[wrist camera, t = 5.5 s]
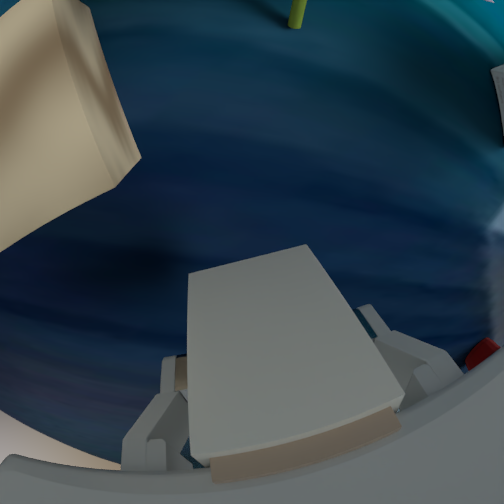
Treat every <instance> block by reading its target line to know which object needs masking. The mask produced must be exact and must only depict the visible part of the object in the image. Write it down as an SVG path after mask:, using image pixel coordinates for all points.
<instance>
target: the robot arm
mask: <svg viewBox="0 0 504 504" xmlns="http://www.w3.org/2000/svg"><path fill="white" fill-rule="evenodd" d="M352 311H353V312H354V314H355V315H356V317H357V318H358V320H359V321H360V323H361V324H362V326H363V327H364V329H365V330H366V332H367V333H368V335H369V336H370V338H371V340H372V341H373V343H374V344H375V346H376V347H377V349H378V351H379V352H380V354H381V355H382V357H383V358H384V360H385V362H386V363H387V365H388V366H389V368H390V370H391V371H392V373H393V375H394V376H395V378H396V379H397V381H398V383H399V384H400V386H401V388H402V389H403V391H404V393H405V395H404V398H403V400H402V402H401V404H400V406H399V409H400V411H399V412H397V413H395V415H396V416H397V418H398V420H399V422H400V424H401V426H402V427H401V429H400V430H399V431H397V432H395V433H393V434H391V435H389V436H387V437H385V438H383V439H380V440H378V441H376V442H373V443H371V444H369V445H366V446H364V447H361V448H359V449H356V450H354V451H351V452H349V453H346V454H343V455H340V456H337V457H335V458H332V459H329V460H326V461H323V462H319V463H316V464H313V465H309V466H306V467H302V468H299V469H295V470H291V471H287V472H283V473H279V474H274V475H270V476H265V477H260V478H255V479H249V480H243V481H237V482H230V483H222V484H214V483H213V482H212V477H211V469H210V467H208V468H198V469H193V464H192V463H190V462H189V461H188V460H187V459H185V458H184V457H183V456H182V455H181V454H180V452H181V450H182V448H183V446H184V444H185V442H186V440H187V439H188V437H189V415H188V383H187V354H181V355H177V356H170V357H164V358H163V361H162V370H161V386H160V394H156V395H155V397H154V398H153V400H152V401H151V402H150V404H149V405H148V406H147V408H146V409H145V410H144V412H143V413H142V414H141V416H140V417H139V418H138V420H137V421H136V422H135V424H134V425H133V426H132V428H131V429H130V431H129V432H128V433H127V435H126V436H125V437H124V439H123V445H122V458H121V471H120V470H103V469H92V468H84V467H76V466H69V465H63V464H56V463H51V462H46V461H41V460H37V459H33V458H28V457H24V456H21V455H17V454H11V455H9V456H7V457H6V458H5V459H4V460H3V462H2V463H1V464H0V504H504V345H503V346H502V347H501V348H500V349H498V350H497V351H496V352H495V353H493V354H492V355H491V356H489V357H488V358H487V359H485V360H484V361H483V362H481V363H480V364H478V365H477V366H476V367H474V368H473V369H471V370H470V371H468V372H467V373H465V374H463V372H462V371H461V370H460V368H459V367H458V366H457V365H456V363H455V362H454V361H453V359H452V358H451V357H450V355H449V354H448V353H447V352H446V351H445V350H442V349H440V348H437V347H435V346H432V345H430V344H427V343H425V342H422V341H420V340H417V339H415V338H412V337H410V336H407V335H405V334H402V333H400V332H397V331H395V330H394V331H392V332H391V331H390V329H389V328H388V327H387V325H386V324H385V323H384V321H383V320H382V319H381V317H380V316H379V315H378V313H377V312H376V311H375V309H374V308H373V307H372V306H371V305H370V304H367V305H364V306H361V307H358V308H357V309H356V308H355V309H353V310H352Z"/></svg>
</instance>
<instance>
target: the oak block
mask: <svg viewBox="0 0 504 504" xmlns="http://www.w3.org/2000/svg"><path fill="white" fill-rule="evenodd" d="M140 159H141V156H140V153H139V151H138V148H137V146H136V143H135V141H134V138H133V136H132V133H131V131H130V128H129V125H128V123H127V120H126V118H125V115H124V112H123V110H122V107H121V104H120V101H119V99H118V96H117V93H116V90H115V87H114V85H113V82H112V79H111V76H110V73H109V70H108V67H107V64H106V61H105V58H104V55H103V52H102V49H101V45H100V42H99V39H98V36H97V32H96V29H95V25H94V22H93V18H92V15H91V11H90V8H89V7H88V6H86V5H85V4H83V3H82V2H80V1H79V0H21V1H19V2H18V3H17V4H16V5H14V6H13V7H12V8H11V9H9V10H8V11H7V12H6V13H5V14H4V15H2V16H1V17H0V252H1V251H3V250H4V249H6V248H7V247H9V246H10V245H12V244H13V243H15V242H16V241H18V240H20V239H21V238H23V237H24V236H26V235H28V234H29V233H31V232H32V231H34V230H36V229H37V228H39V227H41V226H42V225H44V224H46V223H48V222H49V221H51V220H53V219H55V218H56V217H58V216H60V215H62V214H64V213H65V212H67V211H69V210H71V209H73V208H75V207H77V206H78V205H80V204H82V203H84V202H86V201H88V200H90V199H92V198H94V197H96V196H98V195H100V194H102V193H104V192H106V191H108V190H111V189H113V188H115V187H116V186H117V185H118V183H119V182H120V181H121V180H122V179H123V178H124V176H125V175H126V174H127V173H128V172H129V171H130V170H131V169H132V168H133V166H134V165H135V164H136V163H137V162H138V161H139V160H140Z"/></svg>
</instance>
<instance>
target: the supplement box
mask: <svg viewBox="0 0 504 504" xmlns="http://www.w3.org/2000/svg"><path fill="white" fill-rule="evenodd" d="M491 73H492V76H493V79H494V83H495V87H496V91H497V96H498V101H499V106H500V112H501V118H502V126H503V134H504V64H503V65H501V66H498V67H495V68H493V69H491Z"/></svg>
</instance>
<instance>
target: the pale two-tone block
mask: <svg viewBox="0 0 504 504" xmlns="http://www.w3.org/2000/svg"><path fill="white" fill-rule="evenodd" d="M187 383H188V415H189V435H190V451H191V456H192V457H194V458H195V459H196V460H197V461H198V462H199V463H201V464H202V465H203V466H204V467H206V468H208V467H210V469H211V477H212V482H213V483H214V484H222V483H230V482H237V481H243V480H249V479H255V478H260V477H265V476H270V475H274V474H279V473H283V472H287V471H291V470H295V469H299V468H302V467H306V466H309V465H313V464H316V463H319V462H323V461H326V460H329V459H332V458H335V457H337V456H340V455H343V454H346V453H349V452H351V451H354V450H356V449H359V448H361V447H364V446H366V445H369V444H371V443H373V442H376V441H378V440H380V439H383V438H385V437H387V436H389V435H391V434H393V433H395V432H397V431H399V430H400V429H401V427H402V426H401V424H400V422H399V420H398V418H397V416H396V415H395V413H396V412H397V410H398V408H399V406H400V404H401V402H402V400H403V398H404V395H405V393H404V391H403V389H402V388H401V386H400V384H399V383H398V381H397V379H396V378H395V376H394V375H393V373H392V371H391V370H390V368H389V366H388V365H387V363H386V362H385V360H384V358H383V357H382V355H381V354H380V352H379V351H378V349H377V347H376V346H375V344H374V343H373V341H372V340H371V338H370V336H369V335H368V333H367V332H366V330H365V329H364V327H363V326H362V324H361V323H360V321H359V320H358V318H357V317H356V315H355V314H354V312H353V311H352V309H351V308H350V306H349V305H348V303H347V302H346V300H345V299H344V297H343V296H342V294H341V293H340V291H339V290H338V289H337V287H336V286H335V284H334V283H333V281H332V280H331V278H330V277H329V276H328V274H327V273H326V271H325V270H324V268H323V267H322V266H321V264H320V263H319V261H318V260H317V259H316V257H315V256H314V254H313V253H312V252H311V250H310V249H309V247H308V246H307V245H306V244H305V245H301V246H297V247H293V248H290V249H286V250H282V251H278V252H274V253H270V254H266V255H262V256H258V257H254V258H250V259H246V260H242V261H238V262H234V263H230V264H226V265H222V266H218V267H214V268H210V269H206V270H202V271H198V272H194V273H190V274H189V280H188V314H187Z"/></svg>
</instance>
